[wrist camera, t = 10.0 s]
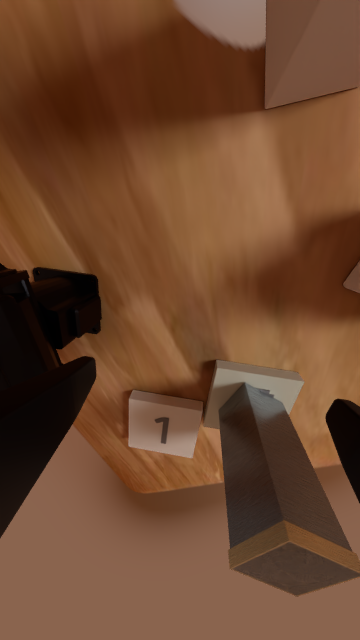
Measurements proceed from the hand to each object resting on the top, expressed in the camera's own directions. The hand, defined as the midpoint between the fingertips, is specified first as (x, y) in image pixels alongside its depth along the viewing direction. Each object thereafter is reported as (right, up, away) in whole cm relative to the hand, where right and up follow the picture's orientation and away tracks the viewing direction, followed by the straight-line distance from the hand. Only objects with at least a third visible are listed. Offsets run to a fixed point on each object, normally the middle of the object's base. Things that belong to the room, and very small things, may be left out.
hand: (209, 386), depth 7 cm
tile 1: (-3, -11, +20) cm, 23 cm away
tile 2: (+7, -7, +16) cm, 19 cm away
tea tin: (+7, -7, +15) cm, 18 cm away
